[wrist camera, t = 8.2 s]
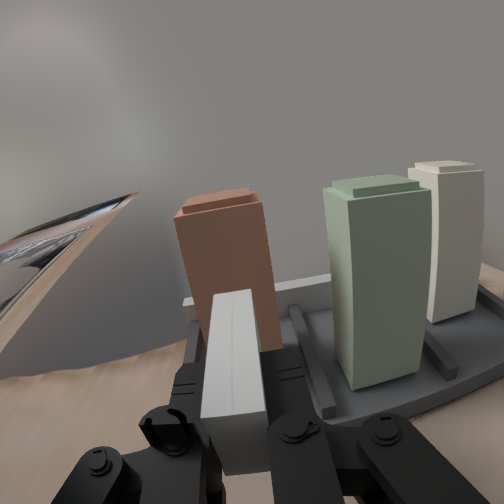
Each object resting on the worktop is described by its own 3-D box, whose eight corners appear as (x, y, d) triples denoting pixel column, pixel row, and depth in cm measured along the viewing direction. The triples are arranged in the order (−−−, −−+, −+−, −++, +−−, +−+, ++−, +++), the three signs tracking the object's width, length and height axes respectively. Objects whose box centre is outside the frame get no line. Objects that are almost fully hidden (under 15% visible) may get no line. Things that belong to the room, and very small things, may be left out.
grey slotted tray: (177, 460, 16) (153, 417, 14) (195, 336, 29) (184, 298, 28) (536, 356, 16) (550, 311, 15) (448, 284, 29) (451, 248, 28)
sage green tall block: (352, 390, 17) (346, 191, 13) (334, 352, 21) (321, 181, 17) (418, 370, 17) (430, 181, 13) (393, 337, 21) (393, 172, 17)
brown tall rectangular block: (217, 385, 20) (171, 210, 16) (218, 350, 23) (183, 197, 20) (286, 374, 20) (260, 194, 16) (279, 340, 23) (255, 184, 20)
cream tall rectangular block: (431, 323, 21) (437, 168, 18) (408, 300, 25) (407, 162, 21) (474, 309, 21) (483, 165, 18) (449, 289, 25) (452, 159, 21)
